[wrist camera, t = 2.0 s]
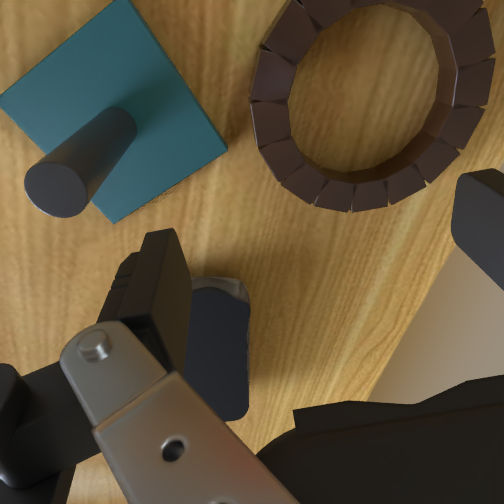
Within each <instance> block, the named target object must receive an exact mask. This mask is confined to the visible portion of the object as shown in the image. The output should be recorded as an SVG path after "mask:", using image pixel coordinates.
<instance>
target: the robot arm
mask: <svg viewBox="0 0 504 504" xmlns="http://www.w3.org/2000/svg"><path fill="white" fill-rule="evenodd" d="M451 233H452V236H453V239H454V241H455V243H456V244H457V245H458V246H459V247H460V248H461V249H462V250H463V251H464V252H465V253H466V254H467V255H468V256H469V257H470V258H471V259H472V260H473V261H474V262H475V263H476V264H477V265H478V266H479V267H480V268H481V269H482V270H483V271H484V272H485V273H486V274H487V275H488V276H489V277H490V278H491V279H492V280H493V281H494V282H496V284H497V285H498V286H499V287H501V289H503V290H504V174H503V173H502V172H500V171H498V170H496V169H494V168H490V169H485V170H479V171H474V172H469V173H464V174H462V175H460V177H459V178H458V181H457V185H456V191H455V199H454V206H453V213H452V220H451ZM191 299H192V281H191V276H190V272H189V269H188V266H187V263H186V260H185V257H184V254H183V251H182V248H181V245H180V242H179V239H178V236H177V234H176V232H175V230H174V229H173V228H170V229H164V230H159V231H154V232H148V233H146V235H145V238H144V240H143V243H142V246H141V249H140V252H134V253H131V254H130V255H129V256H128V257H127V258H126V259H125V260H124V261H123V262H122V263H121V264H120V266H119V269H118V271H117V274H116V276H115V280H114V281H113V283H112V286H111V290H110V291H109V293H108V295H107V298H106V300H105V303H104V305H103V308H102V310H101V312H100V315H99V317H98V320H97V322H96V324H94V325H92V326H89V327H87V328H85V329H84V330H82V331H81V332H79V333H78V334H76V335H75V336H74V337H73V338H72V339H71V340H70V341H69V342H68V343H67V344H66V345H65V347H64V349H63V350H62V353H61V355H60V361H58V362H56V363H53V364H51V365H48V366H46V367H44V368H41V369H39V370H37V371H34V372H32V373H29V374H27V375H25V376H22V377H21V376H20V374H19V373H18V372H17V371H16V369H15V368H14V367H13V366H11V365H9V364H5V363H0V504H66V502H67V498H68V494H69V491H70V487H71V483H72V480H73V476H74V472H75V468H76V465H77V464H78V463H80V462H82V461H84V460H86V459H88V458H90V457H92V456H94V455H96V454H98V453H100V452H102V454H103V456H104V458H105V459H106V461H107V463H108V465H109V467H110V469H111V471H112V473H113V475H114V477H115V479H116V481H117V482H118V484H119V486H120V488H121V490H122V492H123V494H124V496H125V498H126V500H127V502H128V504H504V375H498V376H492V377H487V378H480V379H474V380H469V381H465V382H463V383H461V384H459V385H457V386H455V387H452V388H450V389H448V390H446V391H444V392H442V393H439V394H437V395H435V396H433V397H430V398H428V399H426V400H424V401H422V402H420V403H416V404H394V403H379V402H364V401H343V402H337V403H331V404H325V405H319V406H313V407H307V408H301V409H295V410H293V416H294V421H295V427H296V428H294V429H292V430H289V431H287V432H285V433H283V434H282V435H280V436H279V437H277V438H275V439H274V440H272V441H271V442H270V443H269V444H267V445H266V446H265V447H264V448H262V449H261V450H260V451H259V452H258V453H257V454H256V455H255V454H254V453H253V452H252V451H251V450H250V449H249V448H248V447H247V446H246V445H245V444H244V443H243V442H242V440H241V439H240V438H239V437H238V436H237V435H236V434H235V433H234V432H233V431H232V430H231V429H230V428H229V426H228V425H227V424H226V423H225V422H224V421H223V420H222V419H221V418H220V417H219V416H218V415H217V414H216V412H215V411H214V410H213V409H212V408H211V407H210V406H209V405H208V404H207V403H206V402H205V401H204V400H203V399H202V397H201V396H200V395H199V394H198V393H197V392H196V391H195V390H194V389H193V388H192V387H191V386H190V385H189V383H188V382H187V381H186V380H185V379H184V378H183V372H184V363H185V354H186V345H187V336H188V327H189V318H190V309H191Z"/></svg>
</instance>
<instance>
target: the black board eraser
mask: <svg viewBox="0 0 504 504" xmlns="http://www.w3.org/2000/svg"><path fill="white" fill-rule="evenodd" d="M191 281H192V299H191V309H190V318H189V327H188V336H187V345H186V354H185V363H184V372H183V378H184V379H185V380H186V381H187V382H188V383H189V385H190V386H191V387H192V388H193V389H194V390H195V391H196V392H197V393H198V394H199V395H200V396H201V397H202V399H203V400H204V401H205V402H206V403H207V404H208V405H209V406H210V407H211V408H212V409H213V410H214V411H215V412H216V414H217V415H218V416H219V417H220V418H221V419H222V420H223V421H224V422H227V421H235V420H239V419H241V418H242V417H244V415H245V414H246V413H247V411H248V408H249V383H250V382H249V375H250V372H249V370H250V367H249V365H250V362H249V360H250V358H249V355H250V353H249V345H250V342H249V340H250V337H249V335H250V331H249V329H250V326H249V323H250V320H249V318H250V299H249V294H248V292H247V288H246V286H245V284H244V283H243V282H242V281H240V280H238V279H235V278H227V277H218V276H211V277H191Z"/></svg>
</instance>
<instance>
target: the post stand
mask: <svg viewBox="0 0 504 504" xmlns="http://www.w3.org/2000/svg"><path fill="white" fill-rule="evenodd" d="M0 107H1V108H2V109H3V110H4V111H5V113H6V114H7V115H8V116H9V117H10V118H11V119H12V120H13V121H14V122H15V123H16V124H17V125H18V126H19V127H20V128H21V129H22V130H23V131H24V132H25V133H26V134H27V135H28V136H29V137H30V138H31V139H32V140H33V141H34V143H35V144H36V145H37V146H38V147H39V148H40V149H41V150H42V151H43V152H44V153H45V154H46V156H45V157H44V158H42V159H41V160H40V161H38V162H37V163H36V164H35V165H33V166H32V167H31V168H30V169H29V170H28V171H27V173H26V175H25V179H24V187H25V191H26V194H27V196H28V198H29V199H30V201H31V202H32V203H33V204H34V205H35V206H36V207H37V208H38V209H39V210H41V211H42V212H44V213H46V214H48V215H51V216H54V217H60V218H68V217H73V216H75V215H78V214H79V213H81V212H82V211H83V210H84V209H85V207H86V206H87V205H88V203H89V202H90V200H91V201H92V203H93V204H94V205H95V206H96V207H97V208H98V209H99V210H100V211H101V212H102V213H103V214H104V215H105V216H106V217H107V218H108V219H109V220H110V221H111V222H112V223H113V224H115V223H116V222H118V221H119V220H121V219H122V218H124V217H125V216H127V215H129V214H130V213H132V212H133V211H135V210H136V209H138V208H139V207H141V206H143V205H144V204H146V203H147V202H149V201H150V200H152V199H153V198H155V197H157V196H158V195H160V194H161V193H163V192H164V191H166V190H167V189H169V188H171V187H172V186H174V185H175V184H177V183H178V182H180V181H181V180H183V179H185V178H186V177H188V176H189V175H191V174H192V173H194V172H195V171H197V170H198V169H200V168H202V167H203V166H205V165H206V164H208V163H209V162H211V161H212V160H214V159H216V158H217V157H219V156H220V155H222V154H223V153H225V152H226V151H228V146H227V144H226V143H225V141H224V140H223V138H222V136H221V135H220V133H219V132H218V130H217V129H216V127H215V126H214V124H213V123H212V121H211V120H210V118H209V117H208V115H207V114H206V112H205V111H204V109H203V108H202V106H201V105H200V103H199V102H198V100H197V99H196V97H195V96H194V94H193V93H192V91H191V90H190V88H189V87H188V85H187V84H186V82H185V81H184V79H183V78H182V76H181V75H180V73H179V72H178V70H177V69H176V67H175V66H174V64H173V63H172V61H171V60H170V58H169V57H168V55H167V54H166V52H165V51H164V49H163V47H162V46H161V44H160V43H159V41H158V40H157V38H156V37H155V35H154V34H153V32H152V31H151V29H150V28H149V26H148V25H147V23H146V22H145V20H144V19H143V17H142V16H141V14H140V13H139V11H138V10H137V8H136V7H135V5H134V4H133V2H132V1H131V0H114V1H113V2H111V3H110V4H109V5H108V6H107V7H105V8H104V9H103V10H102V11H101V12H99V13H98V14H97V15H96V16H95V17H93V18H92V19H91V20H90V21H89V22H87V23H86V24H85V25H84V26H83V27H82V28H80V29H79V30H78V31H77V32H76V33H74V34H73V35H72V36H71V37H70V38H68V39H67V40H66V41H65V42H64V43H62V44H61V45H60V46H59V47H58V48H56V49H55V50H54V51H53V52H52V53H50V54H49V55H48V56H47V57H46V58H44V59H43V60H42V61H41V62H40V63H38V64H37V65H36V66H35V67H34V68H32V69H31V70H30V71H29V72H28V73H26V74H25V75H24V76H23V77H22V78H20V79H19V80H18V81H17V82H16V83H14V84H13V85H12V86H11V87H10V88H8V89H7V90H6V91H5V92H4V93H2V94H1V95H0Z"/></svg>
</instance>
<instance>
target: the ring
mask: <svg viewBox="0 0 504 504" xmlns="http://www.w3.org/2000/svg"><path fill="white" fill-rule="evenodd" d="M483 3H484V2H483V1H482V0H286V2H285V3H284V5H283V7H282V8H281V10H280V11H279V13H278V15H277V16H276V18H275V19H274V21H273V22H272V24H271V26H270V27H269V29H268V30H267V32H266V33H265V35H264V37H263V38H262V40H261V43H262V44H263V45H264V46H265V47H267V48H268V49H266V48H262V47H258V50H257V54H256V59H255V64H254V68H253V73H252V78H251V82H250V87H249V95H250V96H249V97H248V98H249V105H250V111H251V117H252V124H253V130H254V137H255V140H256V144H257V146H258V149H259V152H260V154H261V155H262V157H263V158H264V160H265V162H266V163H267V165H268V167H269V168H270V170H271V171H272V173H273V175H274V176H275V178H276V179H277V181H278V182H280V183H281V185H282V186H283V187H284V188H286V189H287V190H289V191H290V192H292V193H293V194H295V195H296V196H298V197H299V198H300V199H302V200H303V201H305V202H306V203H308V204H309V205H310V204H311V203H313V205H314V206H315V207H321V208H326V209H331V210H336V211H341V212H346V213H347V212H348V210H349V209H350V211H351V212H352V213H353V212H359V211H365V210H371V209H376V208H382V207H387V206H388V202H389V203H390V204H391V205H393V204H395V203H397V202H399V201H401V200H402V199H404V198H406V197H408V196H410V195H412V194H414V193H416V192H417V191H419V190H421V189H423V188H425V187H426V184H425V181H424V180H426V181H427V182H428V183H432V182H433V181H434V180H435V179H436V178H437V177H438V176H439V175H440V174H441V173H442V172H443V171H444V170H445V169H446V168H447V167H448V166H449V165H450V164H451V163H452V162H453V161H454V160H455V159H456V158H457V157H458V156H459V155H460V152H459V151H458V150H456V149H455V148H458V149H462V150H463V149H464V148H465V146H466V144H467V143H468V141H469V139H470V137H471V135H472V133H473V132H474V130H475V128H476V126H477V124H478V122H479V121H480V119H481V117H482V115H483V113H484V111H485V109H483V108H480V107H478V106H483V105H487V103H488V98H489V93H490V87H491V82H492V76H493V71H494V65H495V60H496V59H495V58H490V56H491V55H493V54H495V48H494V43H493V38H492V33H491V28H490V23H489V18H488V13H487V9H486V8H480V7H481V6H482V4H483ZM377 4H383V5H386V6H389V7H393V8H396V9H399V10H402V11H406V12H409V13H410V14H411V15H412V16H413V17H414V18H415V19H416V20H417V21H418V23H419V24H420V25H421V26H422V27H423V28H424V29H425V30H426V31H427V32H428V33H429V34H430V35H431V39H432V42H433V45H434V49H435V52H436V56H437V59H438V63H439V74H438V83H437V93H436V100H435V102H434V104H433V106H432V108H431V111H430V113H429V115H428V117H427V119H426V121H425V123H424V125H423V128H422V130H421V131H420V132H419V133H418V134H417V135H416V136H415V137H414V138H413V140H412V141H411V142H410V143H409V144H408V145H407V146H406V147H405V148H404V149H403V150H402V151H401V153H399V154H397V155H396V156H394V157H392V158H390V159H389V160H387V161H385V162H383V163H381V164H380V165H378V166H376V167H374V168H371V169H365V170H359V171H354V172H348V173H346V172H341V171H336V170H332V169H327V168H322V167H320V166H319V165H317V164H316V163H315V162H313V161H312V160H311V159H309V158H308V157H307V156H305V155H304V154H303V153H301V152H300V151H299V149H298V147H297V145H296V143H295V142H294V140H293V138H292V136H291V130H290V120H289V110H288V99H289V95H290V91H291V88H292V84H293V80H294V77H295V73H296V69H297V66H298V64H299V62H300V61H301V60H302V58H303V57H304V55H305V54H306V52H307V51H308V50H309V48H310V47H311V45H312V44H313V42H314V41H315V40H316V38H317V37H318V35H319V34H320V32H322V31H323V30H324V29H326V28H327V27H329V26H330V25H332V24H333V23H335V22H336V21H338V20H339V19H341V18H342V17H343V16H345V15H346V14H348V13H349V12H351V11H352V10H354V9H356V8H362V7H367V6H372V5H377Z"/></svg>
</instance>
